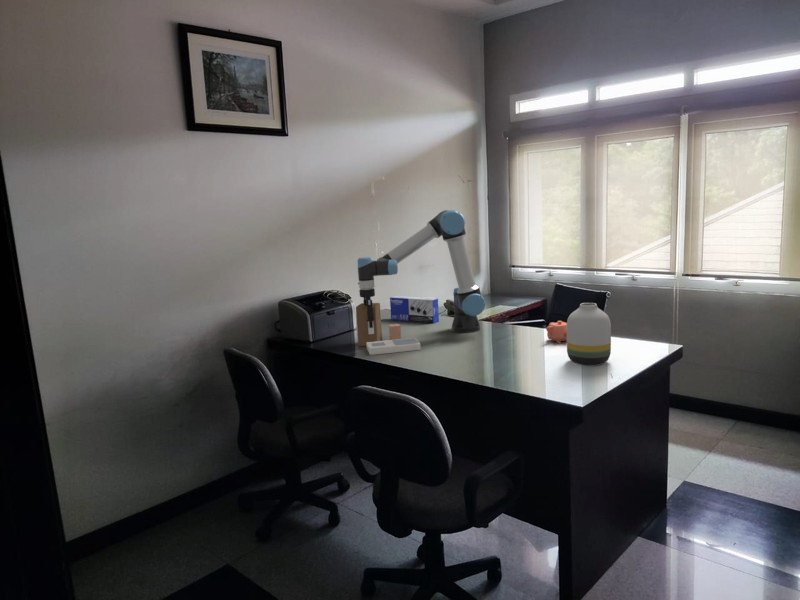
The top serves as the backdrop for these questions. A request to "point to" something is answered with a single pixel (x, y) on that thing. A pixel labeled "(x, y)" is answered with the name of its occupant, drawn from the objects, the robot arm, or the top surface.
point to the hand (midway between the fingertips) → (369, 331)
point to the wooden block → (363, 324)
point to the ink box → (414, 309)
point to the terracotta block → (394, 331)
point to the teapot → (557, 331)
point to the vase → (588, 335)
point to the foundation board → (392, 346)
